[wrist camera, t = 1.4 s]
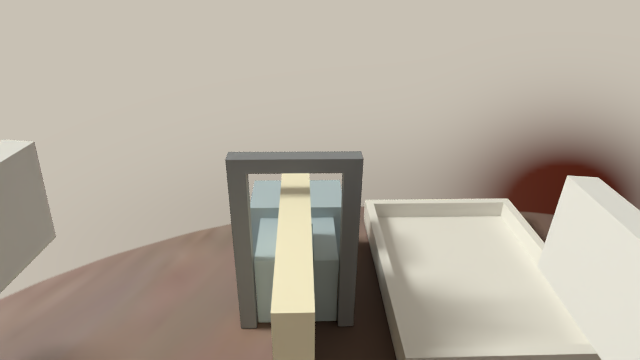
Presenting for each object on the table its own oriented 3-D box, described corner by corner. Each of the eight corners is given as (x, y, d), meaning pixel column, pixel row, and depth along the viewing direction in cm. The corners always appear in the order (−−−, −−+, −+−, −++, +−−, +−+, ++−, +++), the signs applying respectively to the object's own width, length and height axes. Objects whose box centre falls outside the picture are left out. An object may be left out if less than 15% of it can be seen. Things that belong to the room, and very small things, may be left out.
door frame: (341, 241, 46) (346, 103, 39) (353, 326, 36) (363, 158, 29) (254, 242, 46) (245, 103, 39) (241, 328, 35) (225, 159, 29)
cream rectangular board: (309, 292, 39) (309, 167, 34) (314, 470, 26) (315, 312, 20) (286, 292, 39) (282, 168, 34) (279, 471, 26) (270, 313, 20)
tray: (503, 218, 50) (507, 198, 49) (623, 378, 32) (635, 352, 30) (363, 219, 50) (365, 200, 48) (402, 383, 31) (405, 358, 30)
